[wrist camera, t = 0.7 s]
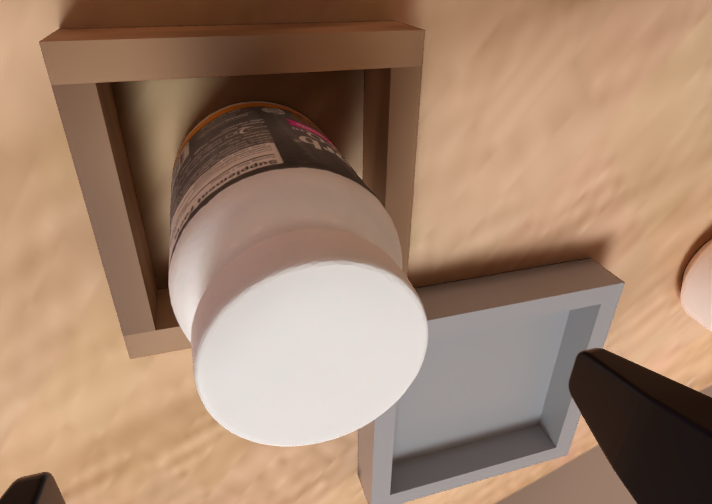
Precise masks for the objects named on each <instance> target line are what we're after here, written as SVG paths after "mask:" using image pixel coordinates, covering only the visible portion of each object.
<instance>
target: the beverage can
mask: <svg viewBox="0 0 712 504" xmlns="http://www.w3.org/2000/svg"><path fill="white" fill-rule="evenodd" d="M680 300H681V305H682V308H683V309H684V311H685V312H686V313H687V314H688V315H689V316H690V317H692V318H693V319H694V320H696V321H697V322H698V323H700V324H701V325H703V326H704V327H705V328H707V329H708V330H710V331H711V332H712V239H711V240H709V241H708V242H707V243H706V244H705V245H703V246H702V247H701V248H700V249H699V250H698V251H697V253H696V254H695V255H694V256H693V258H692V259H691V261H690V262H689V264H688V266H687V268H686V270H685V272H684V275H683V281H682V288H681V293H680Z"/></svg>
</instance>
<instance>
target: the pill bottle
mask: <svg viewBox="0 0 712 504" xmlns="http://www.w3.org/2000/svg"><path fill="white" fill-rule="evenodd" d="M170 208H171V210H170V225H171V229H170V253H169V275H168V286H169V295H170V300H171V305H172V308H173V311H174V314H175V316H176V319H177V321H178V323H179V325H180V327H181V329H182V331H183V332H184V334H185V336H186V337H187V339H188V340H189V341H190V342H191V347H192V357H193V370H194V378H195V385H196V388H197V391H198V394H199V396H200V399H201V400H202V402H203V404H204V406H205V408H206V409H207V411H208V412H209V413H210V415H211V416H212V417H213V418H214V419H215V420H216V421H217V422H218V423H219V424H220V425H222V426H223V427H224V428H226V429H227V430H228V431H230V432H232V433H233V434H235V435H237V436H239V437H242V438H244V439H247V440H250V441H252V442H256V443H260V444H266V445H274V446H283V447H285V446H304V445H311V444H316V443H321V442H325V441H328V440H332V439H336V438H338V437H341V436H344V435H346V434H348V433H351V432H353V431H355V430H357V429H360V428H362V427H363V426H365V425H367V424H368V423H370V422H372V421H373V420H375V419H376V418H377V417H379V416H380V415H381V414H383V413H384V412H385V411H387V410H388V409H389V408H390V407H391V406H392V405H393V404H394V403H396V402H397V401H398V400H399V399H400V397H401V396H402V395H403V394H404V393H405V392H406V390H407V389H408V387H409V386H410V385H411V383H412V382H413V380H414V379H415V377H416V376H417V374H418V372H419V370H420V368H421V366H422V363H423V360H424V357H425V354H426V350H427V345H428V323H427V317H426V313H425V310H424V307H423V304H422V302H421V299H420V297H419V296H418V294H417V292H416V290H415V289H414V287H413V286H412V284H411V283H410V281H409V280H408V278H407V277H406V275H405V274H404V272H403V271H402V252H401V246H400V241H399V237H398V234H397V231H396V228H395V226H394V224H393V221H392V219H391V217H390V215H389V214H388V212H387V210H386V209H385V207H384V205H383V204H382V203H381V201H380V200H379V199H378V197H377V196H376V195H375V194H374V193H373V192H372V191H371V190H370V188H369V187H367V185H366V184H365V183H364V182H363V181H362V180H361V179H360V177H359V176H358V175H357V174H356V172H355V171H354V170H353V169H352V167H351V166H350V165H349V164H348V162H347V161H346V160H345V158H344V157H343V156H342V155H341V153H340V152H339V151H338V150H337V149H336V147H335V146H334V145H333V144H332V143H331V141H330V140H329V139H328V138H327V137H326V136H325V135H324V133H323V132H322V131H321V130H320V129H319V128H318V127H317V126H316V125H315V124H314V123H313V122H312V121H310V120H309V119H308V118H307V117H305V116H304V115H302V114H301V113H299V112H297V111H295V110H293V109H291V108H288V107H286V106H283V105H280V104H276V103H271V102H263V101H249V102H240V103H236V104H233V105H229V106H226V107H224V108H221V109H219V110H217V111H215V112H213V113H212V114H210V115H209V116H207V117H206V118H205V119H203V120H202V121H201V122H199V123H198V124H197V125H196V126H195V127H194V128H193V130H192V131H191V132H190V133H189V134H188V136H187V137H186V139H185V140H184V142H183V144H182V145H181V147H180V149H179V151H178V154H177V157H176V160H175V163H174V168H173V175H172V182H171V206H170Z"/></svg>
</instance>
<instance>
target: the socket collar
mask: <svg viewBox="0 0 712 504" xmlns="http://www.w3.org/2000/svg"><path fill="white" fill-rule="evenodd" d="M424 36H425V30H423V29H420V28H416V27H413V26H410V25H406V24H403V23H400V22H396V21H364V22H324V23H284V24H244V25H203V26H163V27H123V28H83V29H58V30H57V31H55V32H53V33H52V34H50V35H49V36H47V37H46V38H44V39H43V40H41V41H40V42H39V44H40V47H41V51H42V54H43V58H44V61H45V65H46V68H47V72H48V75H49V79H50V82H51V85H52V89H53V92H54V96H55V99H56V103H57V106H58V110H59V113H60V117H61V120H62V124H63V127H64V131H65V134H66V138H67V141H68V145H69V148H70V152H71V155H72V159H73V162H74V166H75V169H76V173H77V176H78V180H79V183H80V187H81V190H82V194H83V197H84V201H85V204H86V208H87V211H88V214H89V218H90V221H91V225H92V228H93V232H94V235H95V239H96V242H97V246H98V249H99V253H100V256H101V260H102V263H103V267H104V270H105V274H106V277H107V281H108V284H109V288H110V291H111V295H112V298H113V302H114V305H115V309H116V312H117V316H118V319H119V323H120V326H121V330H122V333H123V337H124V340H125V343H126V347H127V350H128V354H129V357H130V359H134V358H139V357H145V356H150V355H155V354H161V353H166V352H172V351H177V350H183V349H188V348H192V347H191V342H190V341H189V340H188V339H187V337H186V336H185V334H184V332H183V331H182V329H181V327H180V325H179V323H178V321H177V319H176V316H175V314H174V311H173V308H172V305H171V300H170V295H169V288H165V289H159V290H158V289H157V285H156V280H155V276H154V272H153V267H152V263H151V258H150V254H149V250H148V245H147V241H146V237H145V232H144V228H143V224H142V219H141V215H140V210H139V206H138V202H137V197H136V193H135V189H134V184H133V180H132V176H131V171H130V167H129V162H128V158H127V154H126V149H125V145H124V141H123V136H122V132H121V128H120V123H119V119H118V115H117V110H116V106H115V101H114V97H113V93H112V88H111V84H110V82H122V81H141V80H161V79H181V78H200V77H220V76H240V75H260V74H279V73H299V72H319V71H338V70H358V69H364V127H363V182H364V183H365V184H366V185H367V187H369V188H370V190H371V191H372V192H373V193H374V194H375V195H376V196H377V197H378V199H379V200H380V201H381V203H382V204H383V205H384V207H385V209H386V210H387V212H388V214H389V215H390V217H391V219H392V221H393V224H394V226H395V228H396V231H397V234H398V237H399V241H400V246H401V252H402V271H403V272H404V274H405V275H406V277H407V273H408V259H409V245H410V231H411V217H412V203H413V190H414V176H415V162H416V148H417V134H418V120H419V106H420V92H421V78H422V64H423V50H424Z"/></svg>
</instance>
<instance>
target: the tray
mask: <svg viewBox="0 0 712 504" xmlns="http://www.w3.org/2000/svg"><path fill="white" fill-rule="evenodd" d="M624 283H625V282H623V281H622V280H621V279H619V278H618V277H616V276H615V275H614V274H612V273H611V272H610V271H608V270H607V269H605V268H604V267H603V266H601V265H600V264H599V263H597V262H596V261H594V260H593V259H592V258H587V259H581V260H575V261H570V262H564V263H558V264H552V265H547V266H541V267H535V268H529V269H524V270H518V271H512V272H506V273H501V274H495V275H489V276H483V277H478V278H472V279H466V280H460V281H455V282H449V283H443V284H438V285H432V286H426V287H420V288H415V290H416V292H417V294H418V296H419V297H420V299H421V302H422V304H423V307H424V310H425V313H426V317H427V323H428V345H427V350H426V354H425V357H424V360H423V363H422V366H421V368H420V370H419V372H418V374H417V376H416V377H415V379H414V380H413V382H412V383H411V385H410V386H409V387H408V389H407V390H406V392H405V393H404V394H403V395H402V396H401V397H400V399H399V400H398V401H397V402H396V403H394V404H393V405H392V406H391V407H390V408H389V409H388V410H387V411H385V412H384V413H383V414H381V415H380V416H379V417H377V418H376V419H375V420H373V421H372V422H370V423H368V424H367V425H365V426H363V427H362V428H360V429H359V430H358V477H359V480H360V482H361V485H362V488H363V491H364V494H365V496H366V499H367V502H368V504H401V503H405V502H408V501H411V500H415V499H418V498H422V497H425V496H429V495H432V494H435V493H439V492H442V491H446V490H449V489H453V488H456V487H459V486H463V485H466V484H470V483H473V482H477V481H480V480H483V479H487V478H490V477H494V476H497V475H501V474H504V473H507V472H511V471H514V470H518V469H521V468H525V467H528V466H531V465H535V464H538V463H542V462H545V461H549V460H552V459H555V458H559V457H562V456H566V455H567V454H568V451H569V448H570V445H571V442H572V439H573V436H574V433H575V430H576V427H577V424H578V421H579V418H580V415H581V412H580V411H579V409H578V407H577V405H576V404H575V402H574V400H573V398H572V397H571V394H570V392H569V387H568V382H569V378H570V375H571V372H572V368H573V365H574V362H575V359H576V356H577V354H578V353H579V352H581V351H584V350H588V349H593V348H602V349H603V346H604V343H605V340H606V337H607V334H608V331H609V328H610V325H611V322H612V319H613V316H614V313H615V310H616V307H617V304H618V301H619V298H620V295H621V292H622V289H623V286H624Z"/></svg>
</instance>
